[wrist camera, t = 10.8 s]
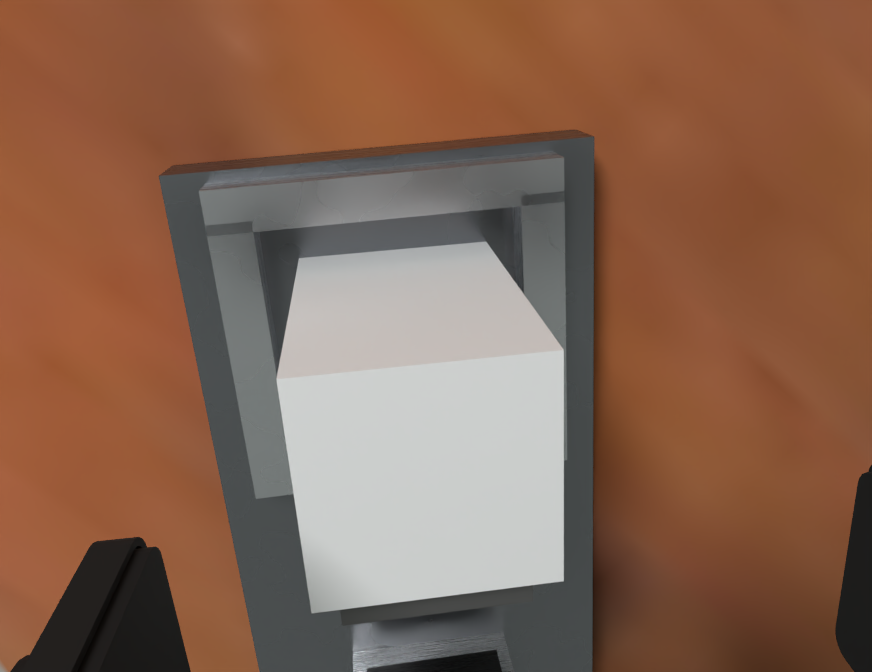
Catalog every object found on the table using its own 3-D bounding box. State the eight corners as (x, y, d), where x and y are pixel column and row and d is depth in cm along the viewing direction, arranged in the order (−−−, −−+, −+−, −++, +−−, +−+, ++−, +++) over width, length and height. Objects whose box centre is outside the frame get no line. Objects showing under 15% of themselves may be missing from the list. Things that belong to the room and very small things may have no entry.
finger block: (486, 241, 19) (563, 349, 12) (493, 434, 21) (563, 616, 14) (298, 258, 18) (276, 379, 12) (324, 453, 20) (317, 649, 14)
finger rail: (575, 129, 19) (736, 192, 12) (578, 740, 27) (676, 1027, 19) (172, 165, 19) (49, 259, 11) (293, 785, 26) (273, 1103, 18)
